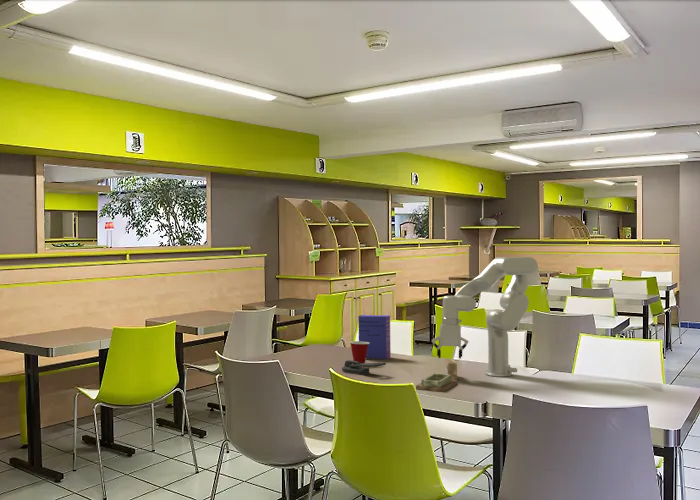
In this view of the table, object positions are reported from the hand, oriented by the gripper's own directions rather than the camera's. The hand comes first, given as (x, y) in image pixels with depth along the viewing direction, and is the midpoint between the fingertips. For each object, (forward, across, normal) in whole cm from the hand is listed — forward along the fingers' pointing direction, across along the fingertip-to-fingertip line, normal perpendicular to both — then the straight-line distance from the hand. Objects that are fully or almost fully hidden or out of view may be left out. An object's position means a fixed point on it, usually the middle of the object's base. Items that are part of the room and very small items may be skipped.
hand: (449, 357), depth 299 cm
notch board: (+10, +7, +17) cm, 21 cm away
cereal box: (+10, +35, -55) cm, 66 cm away
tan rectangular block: (+10, -1, 0) cm, 10 cm away
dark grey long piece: (+11, +41, -12) cm, 44 cm away
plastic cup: (+11, +43, -38) cm, 58 cm away
